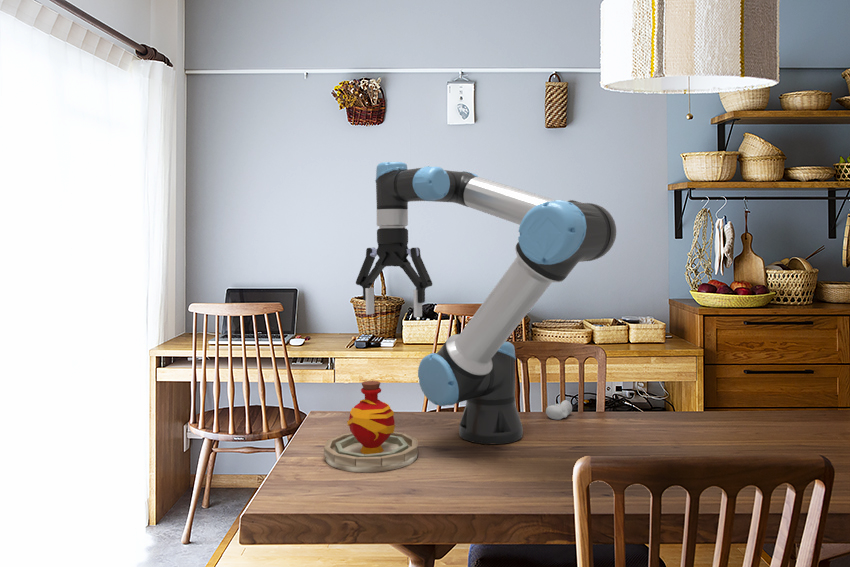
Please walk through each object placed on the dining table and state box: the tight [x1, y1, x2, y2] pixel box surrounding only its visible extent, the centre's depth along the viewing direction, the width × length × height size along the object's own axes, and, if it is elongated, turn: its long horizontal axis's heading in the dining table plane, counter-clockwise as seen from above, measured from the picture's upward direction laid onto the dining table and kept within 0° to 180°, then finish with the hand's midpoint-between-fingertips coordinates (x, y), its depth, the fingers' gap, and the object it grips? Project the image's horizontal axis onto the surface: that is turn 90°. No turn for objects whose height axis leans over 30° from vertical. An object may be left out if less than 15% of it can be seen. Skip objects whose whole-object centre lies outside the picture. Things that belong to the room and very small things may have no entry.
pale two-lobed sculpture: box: [545, 399, 573, 421], centre depth 173 cm, size 4×8×5 cm
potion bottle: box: [346, 380, 396, 454], centre depth 143 cm, size 10×10×15 cm
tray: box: [323, 431, 419, 473], centre depth 144 cm, size 20×20×3 cm
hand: (393, 315), depth 160 cm, fingers open, 13 cm apart
